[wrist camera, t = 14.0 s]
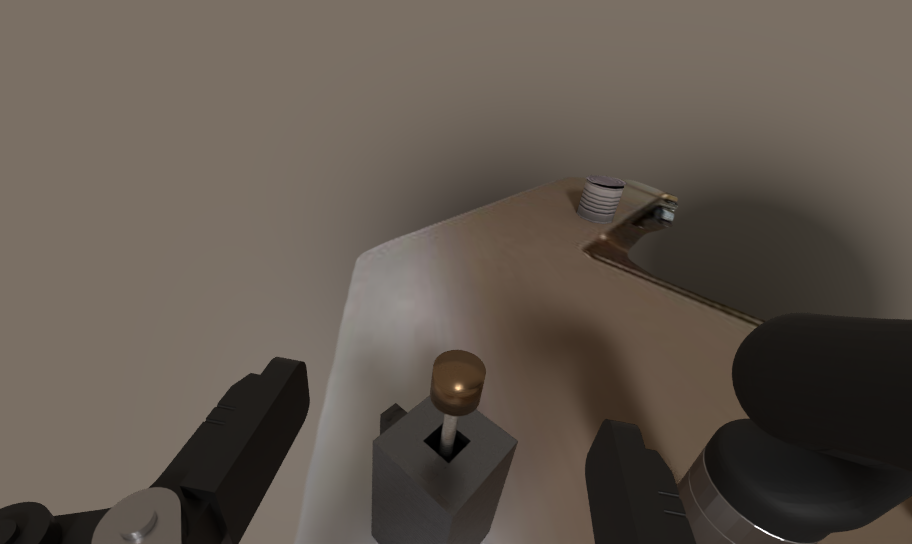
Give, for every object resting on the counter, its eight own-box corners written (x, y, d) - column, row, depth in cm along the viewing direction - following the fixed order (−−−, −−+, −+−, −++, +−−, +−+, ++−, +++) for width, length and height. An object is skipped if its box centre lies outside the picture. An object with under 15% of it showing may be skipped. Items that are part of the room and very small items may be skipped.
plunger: (480, 509, 42) (519, 369, 31) (437, 562, 38) (465, 420, 27) (433, 467, 45) (454, 328, 35) (389, 511, 41) (397, 366, 30)
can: (587, 223, 121) (599, 185, 115) (569, 208, 130) (580, 171, 124) (620, 224, 124) (634, 186, 117) (601, 208, 133) (613, 173, 127)
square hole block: (489, 531, 45) (517, 441, 36) (433, 605, 39) (452, 517, 30) (412, 460, 51) (421, 368, 42) (353, 514, 45) (350, 419, 36)
